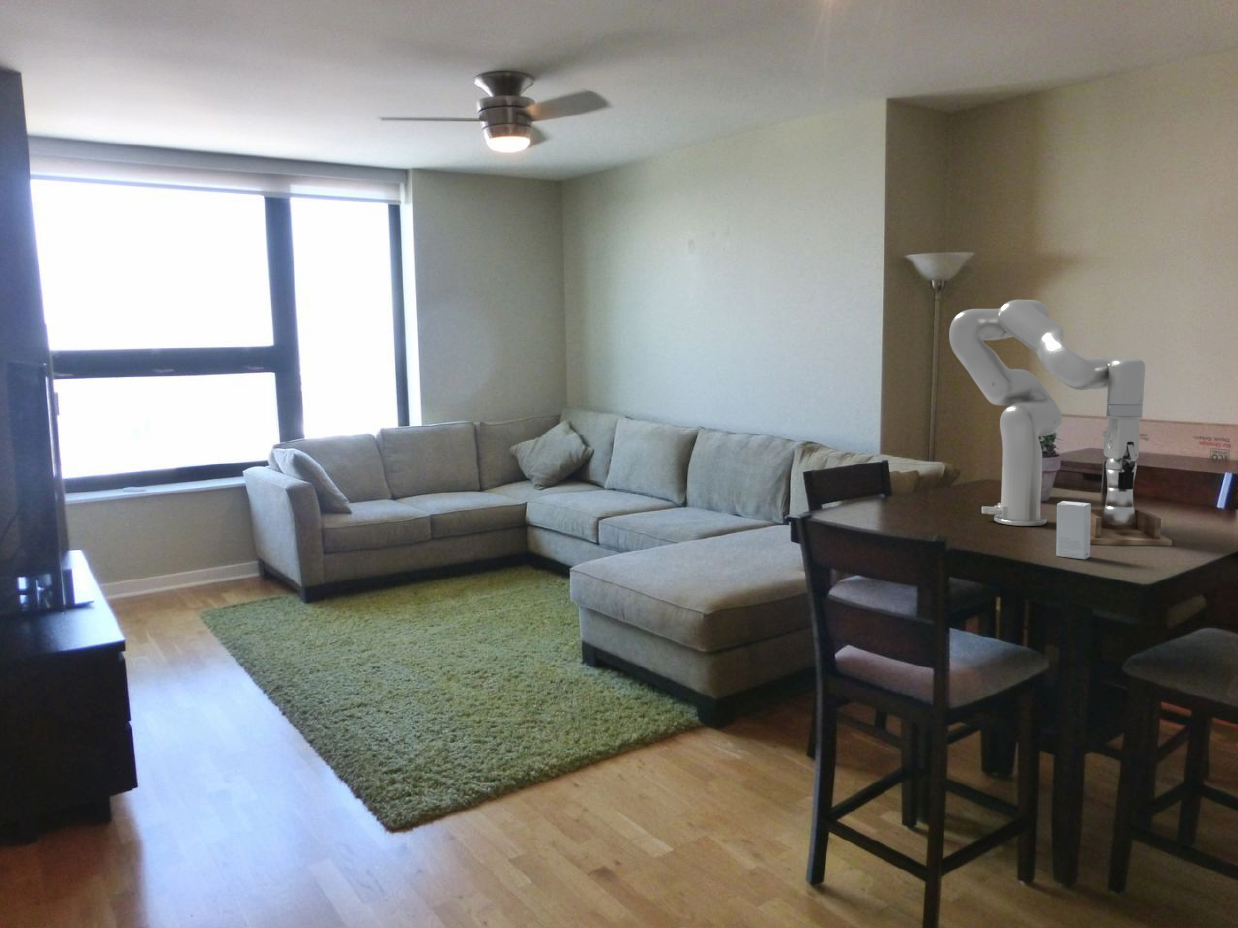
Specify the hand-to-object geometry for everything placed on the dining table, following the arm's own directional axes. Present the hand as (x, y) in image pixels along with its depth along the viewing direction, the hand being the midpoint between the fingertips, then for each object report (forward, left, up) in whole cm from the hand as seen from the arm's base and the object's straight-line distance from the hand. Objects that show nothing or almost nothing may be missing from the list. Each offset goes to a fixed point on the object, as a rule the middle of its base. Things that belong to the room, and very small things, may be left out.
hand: (1120, 486), depth 219 cm
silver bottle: (0, 0, -10) cm, 10 cm away
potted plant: (-6, +54, -13) cm, 56 cm away
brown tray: (0, 0, -13) cm, 13 cm away
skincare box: (-16, -21, -13) cm, 29 cm away
